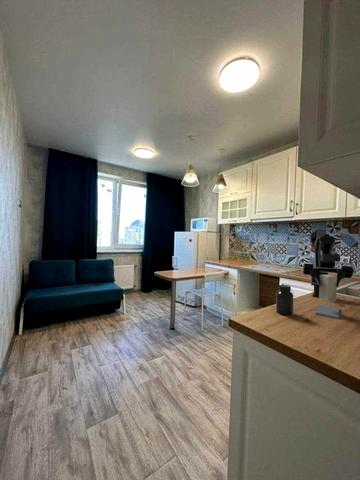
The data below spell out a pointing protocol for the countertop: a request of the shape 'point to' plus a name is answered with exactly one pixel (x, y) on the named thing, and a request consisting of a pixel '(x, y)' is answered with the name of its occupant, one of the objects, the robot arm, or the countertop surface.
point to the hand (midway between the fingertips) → (328, 285)
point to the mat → (327, 311)
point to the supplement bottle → (284, 300)
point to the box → (328, 288)
